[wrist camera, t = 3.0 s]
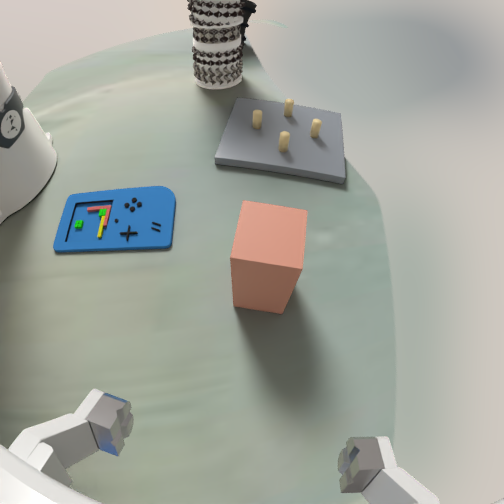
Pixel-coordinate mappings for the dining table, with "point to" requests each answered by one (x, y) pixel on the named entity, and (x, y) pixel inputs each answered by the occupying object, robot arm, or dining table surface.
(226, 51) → the decorative candle
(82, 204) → the handheld gaming device
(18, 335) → the dining table surface
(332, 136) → the plate
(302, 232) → the salmon pink block
